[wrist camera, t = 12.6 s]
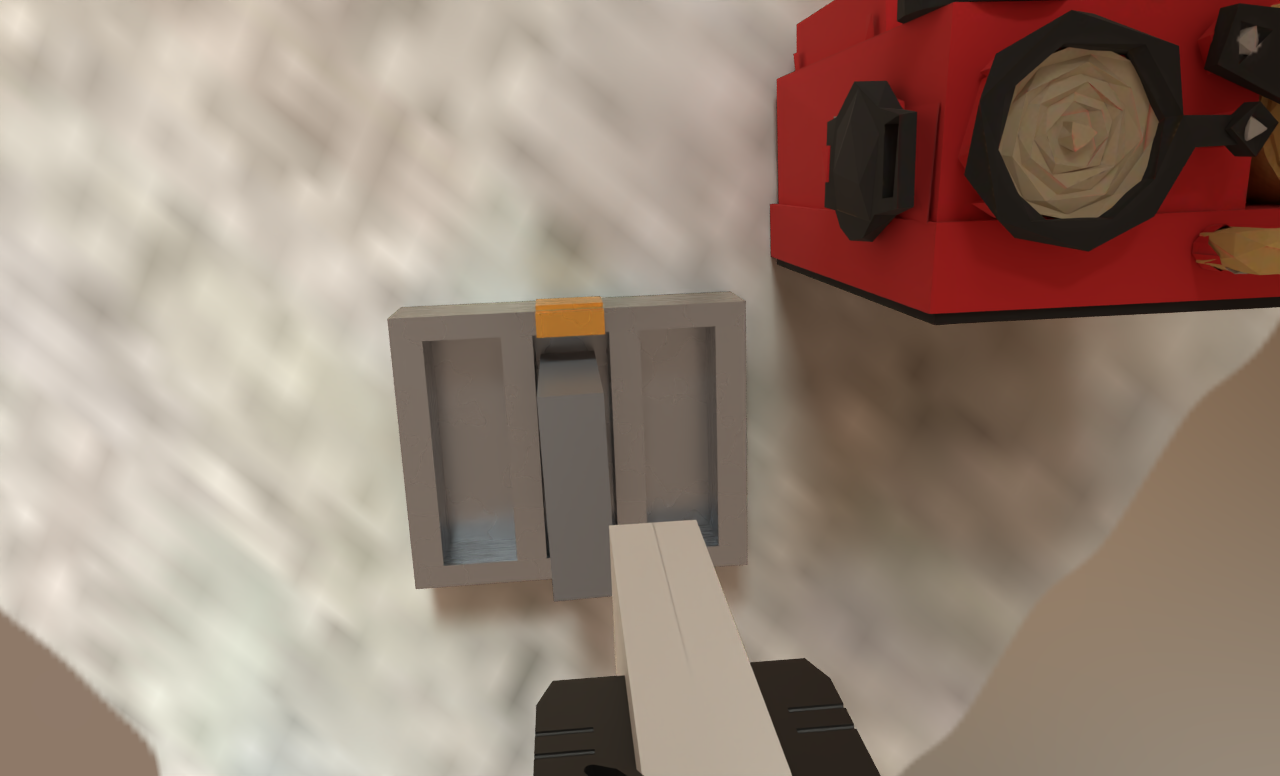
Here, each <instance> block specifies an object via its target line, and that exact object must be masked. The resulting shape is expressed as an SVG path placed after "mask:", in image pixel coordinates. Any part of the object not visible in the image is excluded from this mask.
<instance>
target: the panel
mask: <svg viewBox="0 0 1280 776" xmlns="http://www.w3.org/2000/svg"><path fill="white" fill-rule="evenodd" d="M537 407H538V419H539V430H540V442H541V454H542V466H543V478H544V490H545V502H546V513H547V525H548V537H549V549H550V561H551V573H552V585H553V596H554V601H565V600H575V599H586V598H597V597H608V596H612V580H611V558H610V536H609V525H612V513H611V498H610V483H609V467H608V452H607V437H606V422H605V406H604V392H603V388H602V383H601V379H600V374H599V370H598V365H597V361H596V357H595V352H594V351H581V352H566V353H552V354H541V355H540V366H539V378H538V389H537Z"/></svg>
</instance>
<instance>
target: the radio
mask: <svg viewBox="0 0 1280 776" xmlns="http://www.w3.org/2000/svg"><path fill="white" fill-rule="evenodd" d="M793 55H794V63H795V71H794V72H792V73H790V74H787V75H785V76H783V77H780V78H778V79H777V128H778V198H779V204H770V225H771V257H773V258H776V259H777V264H778V265H780V266H783V267H785V268H788V269H791V270H793V271H796V272H798V273H801V274H804V275H806V276H809V277H811V278H814V279H817V280H819V281H822V282H824V283H827V284H830V285H832V286H835V287H837V288H840V289H843V290H845V291H848V292H850V293H853V294H855V295H858V296H861V297H863V298H866V299H868V300H871V301H874V302H876V303H879V304H881V305H884V306H887V307H889V308H892V309H894V310H897V311H900V312H902V313H905V314H907V315H910V316H913V317H915V318H918V319H920V320H923V321H925V322H928V323H931V324H933V325H945V324H958V323H977V322H996V321H1016V320H1036V319H1055V318H1075V317H1095V316H1114V315H1134V314H1154V313H1173V312H1193V311H1213V310H1232V309H1252V308H1272V307H1280V0H834V1H832V2H831V3H829V4H828V5H826V6H825V7H823V8H822V9H820V10H819V11H817V12H816V13H814V14H812V15H811V16H809V17H808V18H806V19H805V20H803V21H802V22H800V23H799V24H797V53H795V54H793Z"/></svg>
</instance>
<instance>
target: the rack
mask: <svg viewBox="0 0 1280 776" xmlns="http://www.w3.org/2000/svg"><path fill="white" fill-rule="evenodd" d="M388 329H389V338H390V348H391V358H392V367H393V377H394V386H395V396H396V405H397V415H398V424H399V434H400V444H401V453H402V463H403V472H404V482H405V491H406V501H407V511H408V520H409V530H410V539H411V549H412V558H413V568H414V577H415V587H416V589H423V588H437V587H450V586H464V585H477V584H491V583H504V582H518V581H531V580H545V579H552V573H551V561H550V549H549V537H548V525H547V513H546V502H545V490H544V478H543V466H542V454H541V442H540V430H539V419H538V407H537V389H538V378H539V366H540V355H541V354H552V353H566V352H581V351H594V352H595V357H596V361H597V365H598V370H599V374H600V379H601V383H602V388H603V392H604V406H605V422H606V437H607V452H608V467H609V483H610V498H611V513H612V525H624V524H639V523H654V522H669V521H684V520H697V523H698V526H699V528H700V531H701V534H702V536H703V539H704V542H705V544H706V547H707V550H708V552H709V555H710V558H711V560H712V563H713V566H714V567H720V566H733V565H747V443H746V301H744V300H743V299H741V298H740V297H738V296H736V295H735V294H733V293H732V292H710V293H690V294H669V295H648V296H627V297H606V298H601V297H600V296H595V297H574V298H553V299H536V301H522V302H501V303H480V304H459V305H438V306H418V307H401V308H400V309H399V310H397V311H396V312H395V313H394V314H393V315H391V316H390V317H389V318H388Z"/></svg>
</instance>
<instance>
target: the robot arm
mask: <svg viewBox="0 0 1280 776" xmlns="http://www.w3.org/2000/svg"><path fill="white" fill-rule="evenodd" d="M609 536H610V558H611V580H612V602H613V624H614V646H615V667H616V676H609V677H597V678H584V679H572V680H559V681H552V683H551V684H550V686H549V687H548V689H547V690H546V692H545V693H544V695H543V696H542V698H541V699H540V701H539V702H538V704H537V705H536V728H535V751H534V757H535V760H534V774H533V776H880V774H879V772H878V770H877V768H876V766H875V764H874V762H873V760H872V758H871V756H870V754H869V752H868V750H867V749H866V747H865V745H864V743H863V741H862V739H861V737H860V735H859V733H858V731H857V729H854V723H853V722H852V720H851V718H850V716H849V714H848V712H847V710H846V708H844V707H843V702H842V700H841V698H840V696H839V694H838V693H837V691H836V689H835V687H834V685H833V683H832V681H831V679H830V678H829V677H828V676H827V675H825V674H824V673H823V672H821V671H820V670H819V669H818V668H816V667H815V666H814V665H813V664H811V663H810V662H809V661H808V660H806V659H805V658H801V659H789V660H776V661H764V662H751V663H750V662H749V659H748V656H747V654H746V651H745V648H744V646H743V643H742V640H741V638H740V635H739V632H738V630H737V627H736V624H735V622H734V619H733V616H732V614H731V611H730V608H729V606H728V603H727V600H726V598H725V595H724V592H723V590H722V587H721V584H720V582H719V579H718V576H717V574H716V571H715V568H714V566H713V563H712V560H711V558H710V555H709V552H708V550H707V547H706V544H705V542H704V539H703V536H702V534H701V531H700V528H699V526H698V523H697V520H684V521H669V522H654V523H639V524H624V525H609Z"/></svg>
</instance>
